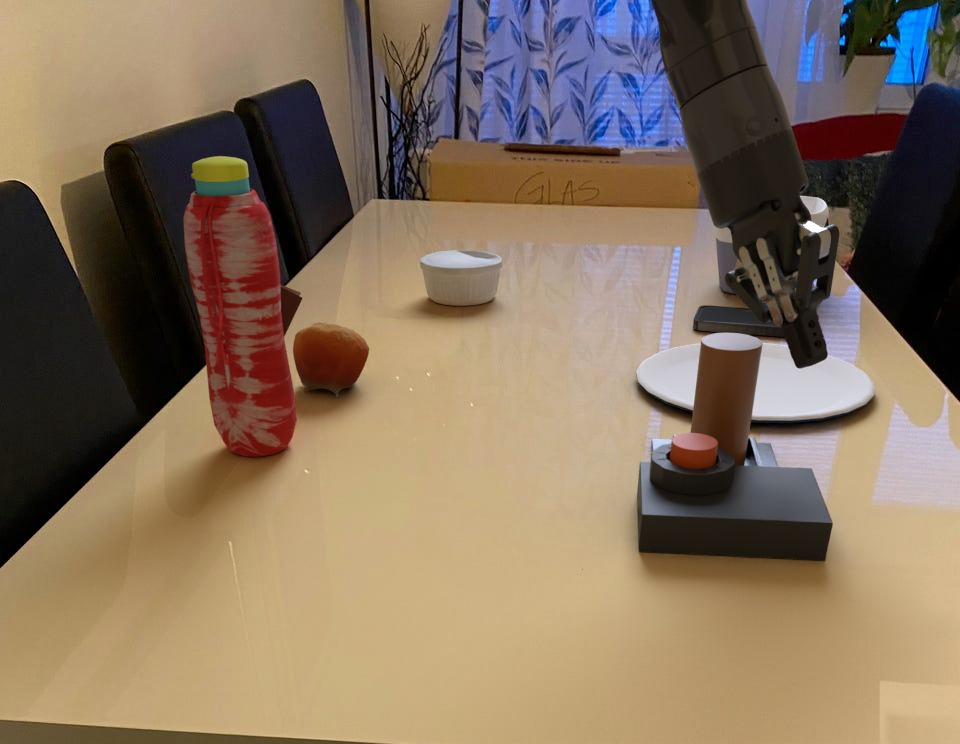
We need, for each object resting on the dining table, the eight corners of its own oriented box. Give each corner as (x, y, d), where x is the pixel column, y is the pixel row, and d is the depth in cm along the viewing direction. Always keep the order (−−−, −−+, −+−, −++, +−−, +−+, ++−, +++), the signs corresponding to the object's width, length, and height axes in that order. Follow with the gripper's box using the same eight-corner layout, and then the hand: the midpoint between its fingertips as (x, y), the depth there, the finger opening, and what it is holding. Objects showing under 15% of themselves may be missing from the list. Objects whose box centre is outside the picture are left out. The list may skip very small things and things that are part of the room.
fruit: (275, 389, 103) (283, 311, 103) (304, 404, 111) (311, 332, 110) (348, 394, 101) (356, 316, 101) (372, 409, 109) (380, 337, 109)
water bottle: (259, 414, 101) (222, 143, 87) (330, 423, 99) (303, 147, 85) (195, 459, 92) (142, 163, 78) (272, 470, 89) (231, 168, 76)
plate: (615, 354, 116) (616, 343, 116) (823, 347, 118) (825, 337, 117) (663, 434, 96) (664, 422, 95) (914, 425, 97) (917, 413, 96)
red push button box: (636, 494, 85) (641, 439, 82) (804, 502, 83) (815, 446, 80) (638, 552, 76) (643, 492, 73) (825, 561, 75) (838, 500, 72)
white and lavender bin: (699, 297, 137) (708, 211, 131) (711, 271, 149) (720, 191, 143) (814, 305, 133) (829, 217, 127) (817, 277, 145) (831, 195, 139)
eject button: (668, 452, 81) (670, 431, 80) (713, 453, 80) (716, 433, 79) (670, 470, 78) (672, 449, 77) (717, 472, 77) (719, 451, 76)
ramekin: (514, 292, 140) (515, 253, 137) (481, 312, 132) (481, 271, 129) (444, 284, 144) (443, 246, 141) (407, 303, 136) (405, 263, 133)
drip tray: (651, 444, 94) (652, 426, 93) (769, 448, 93) (772, 430, 92) (654, 494, 85) (656, 474, 84) (785, 499, 83) (789, 480, 82)
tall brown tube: (712, 448, 91) (727, 329, 85) (755, 465, 88) (775, 342, 82) (675, 462, 89) (688, 340, 83) (718, 480, 85) (735, 354, 79)
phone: (817, 330, 119) (692, 320, 123) (816, 339, 120) (691, 329, 124) (819, 312, 126) (700, 304, 129) (817, 321, 126) (699, 312, 130)
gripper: (834, 98, 71) (905, 332, 74) (737, 163, 83) (802, 360, 87) (748, 132, 69) (825, 368, 73) (662, 193, 82) (731, 392, 85)
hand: (812, 363), depth 80 cm, fingers closed
